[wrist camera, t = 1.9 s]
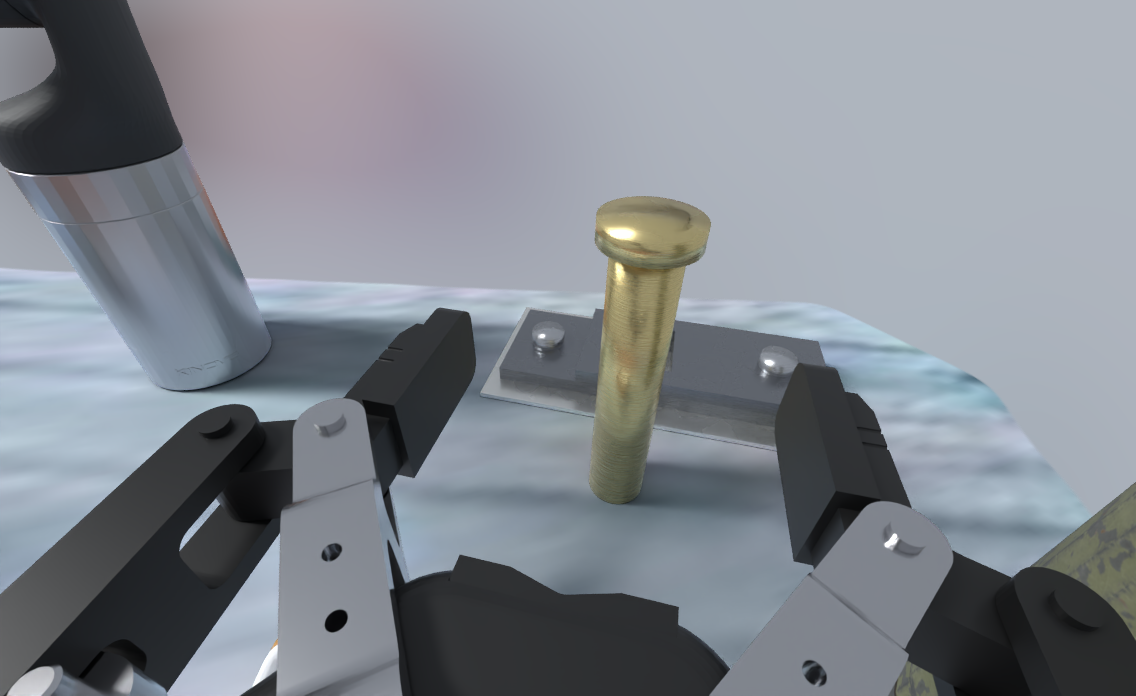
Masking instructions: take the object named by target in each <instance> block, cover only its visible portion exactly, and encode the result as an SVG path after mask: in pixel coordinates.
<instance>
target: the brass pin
mask: <svg viewBox="0 0 1136 696" xmlns="http://www.w3.org/2000/svg"><path fill="white" fill-rule="evenodd" d="M710 227H711V222H710V219H709V217H708V216H707V215H706V214H705V213H704V212H702V211H701V210H699V209H698V208H696V207H694V206H691V205H689V204H686V203H683V202H680V201H676V200H672V199H667V198H660V197H648V196H647V197H646V196H636V197H625V198H620V199H616V200H612V201H610V202H607V203H605V204H603V205H602V206H601V207H600V208H599V209H598V211H597V214H596V229H595V244H596V246H597V248H598V249H599V250H600V251H601V252H602V253H604V254H605V255H606V256H608V257H609V259H608V270H607V281H606V292H605V304H604V315H603V327H602V338H601V349H600V361H599V372H598V384H597V395H596V406H595V418H594V429H593V441H592V452H591V463H590V475H589V484H590V487H591V489H592V491H593V492H594V494H595V495H596V496H597V497H599V498H600V499H601V500H603V501H605V502H608V503H612V504H624V503H627V502H630V501H632V500H633V499H635V498H636V497H637V496H638V494H639V492H640V490H641V486H642V481H643V476H644V471H645V466H646V461H647V456H648V451H649V446H650V441H651V436H652V431H653V426H654V421H655V417H656V412H657V407H658V402H659V397H660V392H661V387H662V382H663V377H664V372H665V367H666V362H667V357H668V352H669V347H670V342H671V337H672V332H673V327H674V322H675V317H676V312H677V307H678V302H679V297H680V292H681V287H682V282H683V277H684V272H685V267H686V266H687V265H690V264H692V263H695V262H696V261H698V260H699V259H700V258H701V257H702V256H703V255H704V253H705V249H706V244H707V240H708V236H709V232H710Z"/></svg>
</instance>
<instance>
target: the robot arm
mask: <svg viewBox="0 0 1136 696" xmlns="http://www.w3.org/2000/svg"><path fill="white" fill-rule="evenodd" d="M0 28H45V30H46V32H47V35H48V38H49V40H50V43H51V45H52V48H53V51H54V54H55V59H56V66H55V69H54V70H53V72H52V73H51V74H50V75H49V76H48V77H47V79H46V80H45V81H44V82H42V83H41V84H39V85H38V86H37V87H35V88H33V89H31V90H29V91H27V92H25V93H22V94H20V95H17V96H15V97H12V98H9V99H7V100H4V101H2V102H0V162H1V164H2V165H3V166H4V167H5V170H6V171H7V172H8V174H9V175H10V177H11V178H12V180H13V181H14V182H15V184H16V185H17V187H18V188H19V190H20V191H21V193H22V194H23V195H24V197H25V199H26V200H27V201H28V203H29V204H30V206H31V207H32V209H33V210H34V212H35V213H36V214H37V215H38V217H39V218H40V220H41V221H42V223H43V224H44V225H45V227H46V228H47V230H48V231H49V233H50V234H51V236H52V237H53V238H54V240H55V241H56V243H57V244H58V246H59V247H60V248H61V250H62V252H63V253H64V254H65V256H66V257H67V259H68V260H69V262H70V263H71V265H72V266H73V267H74V269H75V270H76V272H77V273H78V275H79V276H80V278H81V279H82V281H83V282H84V283H85V285H86V286H87V288H88V289H89V291H90V292H91V294H92V295H93V296H94V298H95V299H96V301H97V302H98V304H99V305H100V307H101V308H102V310H103V311H104V312H105V314H106V315H107V317H108V318H109V320H110V321H111V323H112V324H113V325H114V327H115V328H116V330H117V331H118V333H119V334H120V336H121V337H122V338H123V340H124V342H125V343H126V345H127V346H128V347H129V349H130V350H131V352H132V353H133V355H134V356H135V358H136V359H137V360H138V362H139V363H140V365H141V366H142V368H143V369H144V371H145V372H146V373H147V375H148V376H149V378H150V379H151V381H152V382H153V383H155V384H156V385H158V386H160V387H163V388H166V389H172V390H193V389H199V388H205V387H209V386H213V385H216V384H220V383H222V382H225V381H228V380H230V379H233V378H235V377H237V376H239V375H241V374H243V373H245V372H246V371H248V370H249V369H251V368H252V367H254V366H255V365H256V364H257V363H259V362H260V361H261V360H262V359H263V358H264V357H265V355H266V354H267V353H268V351H269V349H270V347H271V340H272V339H271V337H270V334H269V332H268V330H267V327H266V325H265V323H264V321H263V318H262V316H261V314H260V312H259V309H258V307H257V305H256V302H255V300H254V298H253V295H252V293H251V291H250V289H249V286H248V284H247V282H246V280H245V277H244V276H243V273H242V271H241V269H240V266H239V264H238V262H237V260H236V257H235V255H234V253H233V251H232V249H231V246H230V244H229V242H228V239H227V237H226V235H225V233H224V231H223V228H222V226H221V224H220V222H219V219H218V217H217V215H216V213H215V210H214V208H213V206H212V204H211V202H210V199H209V197H208V195H207V193H206V190H205V188H204V186H203V184H202V182H201V180H200V178H199V175H198V173H197V171H196V169H195V167H194V164H193V162H192V160H191V158H190V155H189V153H188V151H187V149H186V146H185V144H184V142H183V140H182V137H181V135H180V133H179V131H178V128H177V126H176V124H175V122H174V119H173V117H172V114H171V111H170V108H169V106H168V103H167V100H166V97H165V94H164V91H163V88H162V86H161V83H160V81H159V78H158V76H157V74H156V71H155V69H154V67H153V64H152V62H151V60H150V57H149V55H148V53H147V50H146V48H145V46H144V44H143V41H142V38H141V36H140V33H139V31H138V28H137V26H136V23H135V21H134V18H133V16H132V13H131V11H130V8H129V6H128V3H127V0H0ZM475 366H476V357H475V348H474V340H473V332H472V324H471V318H470V315H469V313H468V312H465V311H459V310H452V309H445V308H438V309H436V310H435V311H434V313H433V314H432V315H431V316H430V317H429V319H428V320H427V321H426V322H425V323H424V325H423V324H415V325H414V326H412V327H410V328H409V329H407V330H405V331H403V332H402V333H400V334H399V335H398V336H397V337H396V338H395V340H394V341H393V342H392V343H391V344H390V345H389V346H388V350H387V349H386V350H385V351H384V352H383V353H382V354H381V356H380V357H379V360H376V361H375V362H374V364H373V365H372V366H371V367H370V368H369V369H368V370H367V372H366V373H365V374H364V375H363V376H362V377H361V378H360V380H359V381H358V382H357V383H356V384H355V385H354V386H353V388H352V389H351V390H350V391H349V392H348V393H347V394H346V396H345V397H344V398H338V399H331V400H327V401H323V402H321V403H318V404H316V405H314V406H312V407H310V408H309V409H308V410H306V411H305V412H304V413H303V414H301V416H300V417H299V418H298V419H297V420H287V421H273V422H260V421H259V419H258V417H257V416H256V414H255V412H254V411H253V409H251V408H250V407H248V406H245V405H240V404H230V405H223V406H219V407H216V408H213V409H210V410H208V411H205V412H203V413H201V414H200V415H198V416H196V417H195V418H193V419H192V420H190V421H189V422H188V423H187V424H186V425H185V426H184V427H182V428H181V429H180V430H179V431H178V432H177V433H176V434H175V435H174V436H173V437H172V438H170V439H169V440H168V441H167V442H166V443H165V444H164V445H163V446H162V447H161V448H160V449H158V450H157V451H156V452H155V453H154V454H153V455H152V456H151V457H150V458H149V459H148V460H146V461H145V462H144V463H143V464H142V465H141V466H140V467H139V468H138V469H137V470H136V471H134V472H133V473H132V474H131V475H130V476H129V477H128V478H127V479H126V480H125V481H124V482H122V483H121V484H120V485H119V486H118V487H117V488H116V489H115V490H114V491H113V492H112V493H110V494H109V495H108V496H107V497H106V498H105V499H104V500H103V501H102V502H101V503H100V504H98V505H97V506H96V507H95V508H94V509H93V510H92V511H91V512H90V513H89V514H88V515H86V516H85V517H84V518H83V519H82V520H81V521H80V522H79V523H78V524H77V525H76V526H74V527H73V528H72V529H71V530H70V531H69V532H68V533H67V534H66V535H65V536H64V537H62V538H61V539H60V540H59V541H58V542H57V543H56V544H55V545H54V546H53V547H52V548H50V549H49V550H48V551H47V552H46V553H45V554H44V555H43V556H42V557H41V558H40V559H38V560H37V561H36V562H35V563H34V564H33V565H32V566H31V567H30V568H29V569H28V570H26V571H25V572H24V573H23V574H22V575H21V576H20V577H19V578H18V579H17V580H16V581H14V582H13V583H12V584H11V585H10V586H9V587H8V588H7V589H6V590H5V591H4V592H2V593H1V594H0V696H168V695H167V692H168V691H169V689H170V688H171V686H172V685H173V684H174V682H175V681H176V679H177V678H178V676H179V675H180V674H181V672H182V671H183V669H184V668H185V667H186V665H187V664H188V662H189V661H190V659H191V658H192V657H193V655H194V654H195V652H196V651H197V650H198V648H199V647H200V645H201V644H202V642H203V641H204V640H205V638H206V637H207V635H208V634H209V632H210V631H211V630H212V628H213V627H214V625H215V624H216V623H217V621H218V620H219V618H220V617H221V615H222V614H223V613H224V611H225V610H226V608H227V607H228V606H229V604H230V603H231V601H232V600H233V598H234V597H235V596H236V594H237V593H238V591H239V590H240V589H241V587H242V586H243V584H244V583H245V581H246V580H247V579H248V577H249V576H250V574H251V573H252V572H253V570H254V569H255V567H256V566H257V564H258V563H259V562H260V560H261V559H262V557H263V556H264V555H265V553H266V552H267V550H268V549H269V547H270V546H271V545H272V543H273V542H274V540H275V539H276V537H277V536H278V535H279V533H280V567H279V609H278V652H277V670H276V671H275V672H274V673H272V674H271V675H269V676H268V677H266V678H265V679H263V680H262V681H261V682H259V683H258V684H256V685H255V686H253V687H252V688H251V689H249V690H248V691H246V692H245V693H243V694H242V695H240V696H888V695H889V693H890V691H891V690H892V688H893V686H894V684H895V682H896V681H897V679H898V677H899V675H900V673H901V672H902V670H903V668H904V666H905V664H906V662H907V661H909V662H911V663H912V664H914V665H916V666H918V667H920V668H922V669H923V670H925V671H927V672H929V673H931V674H932V675H933V679H934V683H935V686H936V690H937V694H938V696H1136V640H1135V638H1134V637H1133V635H1132V633H1131V632H1130V630H1129V628H1128V627H1127V625H1126V624H1125V622H1124V621H1123V619H1122V618H1121V616H1120V615H1119V614H1118V613H1117V612H1116V611H1115V609H1114V608H1113V607H1112V606H1111V605H1110V604H1109V603H1108V602H1107V601H1106V600H1104V599H1103V598H1102V597H1101V596H1100V595H1098V594H1097V593H1096V592H1095V591H1093V590H1092V589H1090V588H1089V587H1088V586H1086V585H1084V584H1083V583H1081V582H1080V581H1078V580H1076V579H1074V578H1072V577H1070V576H1068V575H1066V574H1064V573H1061V572H1059V571H1056V570H1052V569H1049V568H1044V567H1028V568H1025V569H1022V570H1021V571H1020V572H1018V573H1017V574H1016V575H1015V576H1014V577H1012V578H1011V577H1009V576H1007V575H1005V574H1002V573H1000V572H998V571H996V570H993V569H991V568H989V567H987V566H984V565H982V564H980V563H978V562H975V561H973V560H971V559H969V558H966V557H964V556H962V555H960V554H958V553H956V552H955V551H953V550H952V549H951V546H950V544H949V542H948V540H947V539H946V537H945V536H944V534H943V533H942V532H941V530H940V529H939V528H938V527H937V526H936V525H935V524H934V523H932V522H931V521H930V520H929V519H928V518H926V517H925V516H923V515H922V514H920V513H919V512H917V511H915V510H913V509H912V508H911V505H910V502H909V500H908V497H907V495H906V492H905V490H904V487H903V485H902V482H901V480H900V477H899V475H898V472H897V469H896V467H895V464H894V462H893V459H892V457H891V454H890V452H889V450H887V444H886V441H885V439H884V436H883V434H881V429H880V426H879V424H878V421H877V419H876V416H875V413H874V411H873V410H872V409H871V408H870V407H869V406H868V405H867V404H866V403H865V402H864V401H863V399H862V398H861V397H860V396H859V395H858V394H855V393H849V392H845V391H844V388H843V385H842V383H841V380H840V377H839V374H838V371H837V370H836V369H835V368H832V367H826V366H819V365H812V364H806V363H798V364H797V366H796V367H795V369H794V371H793V374H792V376H791V379H790V381H789V384H788V386H787V389H786V391H785V393H784V396H783V398H782V401H781V403H780V406H779V408H778V411H777V414H776V419H775V428H774V434H775V442H776V448H777V455H778V461H779V468H780V474H781V481H782V487H783V494H784V501H785V507H786V514H787V520H788V527H789V533H790V540H791V546H792V553H793V559H794V561H795V562H800V563H804V564H809V565H813V567H814V571H813V572H812V573H809V574H808V575H807V576H806V577H805V578H804V580H803V581H802V582H801V583H800V584H799V586H798V587H797V588H796V589H795V591H794V592H793V593H792V594H791V596H790V597H789V598H788V599H787V600H786V602H785V603H784V604H783V605H782V607H781V608H780V609H779V610H778V611H777V613H776V614H775V615H774V616H773V618H772V619H771V620H770V621H769V623H768V624H767V625H766V626H765V627H764V629H763V630H762V631H761V632H760V634H759V635H758V636H757V637H756V638H755V640H754V641H753V642H752V643H751V645H750V646H749V647H748V648H747V650H746V651H745V652H744V653H743V654H742V656H741V657H740V658H739V659H738V661H737V662H736V663H735V664H734V665H733V667H732V668H731V669H729V667H728V666H727V665H726V663H725V662H724V661H723V660H722V659H721V658H720V657H719V656H718V655H717V654H716V653H715V652H714V650H712V649H711V648H710V647H709V646H708V645H707V644H706V643H704V642H703V641H702V640H701V639H700V638H698V637H697V636H695V635H694V634H692V633H691V632H690V631H688V630H687V629H685V628H683V627H681V626H679V625H678V610H679V607H677V606H672V605H668V604H664V603H660V602H656V601H652V600H647V599H643V598H639V597H635V596H631V595H626V594H622V593H616V594H579V595H564V594H560V593H557V592H555V591H553V590H552V589H550V588H548V587H546V586H544V585H543V584H541V583H539V582H537V581H535V580H534V579H532V578H530V577H528V576H526V575H524V574H523V573H521V572H519V571H517V570H515V569H514V568H512V567H509V566H505V565H501V564H497V563H493V562H489V561H484V560H480V559H476V558H472V557H468V556H464V555H459V558H458V560H457V562H456V565H455V567H454V569H453V571H443V572H437V573H432V574H429V575H425V576H422V577H419V578H416V579H414V580H411V581H410V577H409V573H408V570H407V566H406V562H405V558H404V553H403V548H402V543H401V537H400V532H399V527H398V522H397V516H396V511H395V506H394V500H393V495H392V491H391V488H390V485H391V483H392V482H393V480H394V479H395V477H396V475H397V474H398V475H403V476H407V477H412V478H415V476H416V474H417V473H418V471H419V469H420V468H421V466H422V464H423V462H424V461H425V459H426V457H427V456H428V454H429V452H430V451H431V449H432V447H433V445H434V444H435V442H436V440H437V439H438V437H439V435H440V434H441V432H442V430H443V428H444V427H445V425H446V423H447V422H448V420H449V418H450V417H451V415H452V413H453V412H454V410H455V408H456V406H457V405H458V403H459V401H460V400H461V398H462V396H463V395H464V393H465V391H466V389H467V388H468V386H469V384H470V383H471V381H472V378H473V376H474V372H475ZM215 499H217V500H218V502H219V503H220V505H219V506H218V507H217V508H216V510H215V511H214V512H213V513H212V514H211V515H210V517H209V518H208V519H207V520H206V521H205V522H204V524H203V525H202V526H201V527H200V528H199V529H198V531H197V532H196V533H195V534H194V535H193V536H192V538H191V539H190V540H189V541H188V542H187V543H186V545H185V546H184V547H183V548H182V549H181V550H180V552H179V548H180V544H181V541H182V539H183V537H184V535H185V533H186V532H187V531H188V529H189V528H190V527H191V526H192V525H193V524H194V523H195V521H196V520H197V519H198V518H199V517H200V516H201V515H202V513H203V512H204V511H205V510H206V509H207V508H208V507H209V505H210V504H211V503H212V502H213V501H214V500H215Z"/></svg>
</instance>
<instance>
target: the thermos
mask: <svg viewBox="0 0 1136 696" xmlns="http://www.w3.org/2000/svg"><path fill="white" fill-rule="evenodd" d="M1030 567H1044V568H1049V569H1052V570H1056V571H1059V572H1061V573H1064V574H1066V575H1068V576H1070V577H1072V578H1074V579H1076V580H1078V581H1080V582H1081V583H1083V584H1084V585H1086V586H1088V587H1089V588H1090V589H1092V590H1093V591H1095V592H1096V593H1097V594H1098V595H1100V596H1101V597H1102V598H1103V599H1104V600H1106V601H1107V602H1108V603H1109V604H1110V605H1111V606H1112V607H1113V608H1114V609H1115V611H1116V612H1117V613H1118V614H1119V615H1120V616H1121V618H1122V619H1123V621H1124V622H1125V624H1126V625H1127V627H1128V628H1129V630H1130V632H1131V633H1132V635H1133V637H1134V638H1135V640H1136V482H1135V483H1134V484H1133V485H1131V486H1130V487H1129V488H1128V489H1126V490H1125V491H1124V492H1123V493H1122V494H1120V495H1119V496H1118V497H1116V498H1115V499H1114V500H1113V501H1112V502H1110V503H1109V504H1108V505H1107V506H1105V507H1104V508H1103V509H1102V510H1101V511H1099V512H1098V513H1097V514H1095V515H1094V516H1093V517H1092V518H1090V519H1089V520H1088V521H1087V522H1085V523H1084V524H1083V525H1082V526H1080V527H1079V528H1078V529H1077V530H1075V531H1074V532H1073V533H1072V534H1070V535H1069V536H1068V537H1067V538H1065V539H1064V540H1063V541H1062V542H1060V543H1059V544H1058V545H1057V546H1055V547H1054V548H1053V549H1052V550H1050V551H1049V552H1048V553H1047V554H1045V555H1044V556H1043V557H1042V558H1040V559H1039V560H1038V561H1037V562H1035V563H1034V564H1033V565H1032V566H1030ZM888 696H938V694H937V690H936V686H935V683H934V679H933V675H932V674H931V673H929V672H927V671H925V670H923V669H922V668H920V667H918V666H916V665H914V664H912V663H911V662H909V661H907V662H906V664H905V666H904V668H903V670H902V672H901V673H900V675H899V677H898V679H897V681H896V682H895V684H894V686H893V688H892V690H891V691H890V693H889V695H888Z"/></svg>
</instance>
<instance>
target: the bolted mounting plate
mask: <svg viewBox="0 0 1136 696" xmlns="http://www.w3.org/2000/svg"><path fill="white" fill-rule="evenodd" d="M603 315H604V310H602V309H596V310H595V313H594V316H593V317H588V316H582V315H575V314H568V313H562V312H555V311H548V310H542V309H535V308H529V307H526V309H525V311H524V313H523V315H522V317H521V318H520V320H519V322H518V324H517V326H516V328H515V329H514V331H513V333H512V335H511V337H510V339H509V341H508V342H507V344H506V346H505V348H504V350H503V352H502V353H501V355H500V357H499V359H498V361H497V363H496V364H495V366H494V368H493V370H492V372H491V374H490V375H489V377H488V379H487V381H486V383H485V385H484V387H483V388H482V390H481V392H480V395H481V396H482V397H488V398H493V399H498V400H504V401H509V402H515V403H520V404H526V405H531V406H536V407H542V408H547V409H553V410H558V411H563V412H569V413H574V414H580V415H585V416H590V417H595V406H596V395H597V384H598V372H599V361H600V349H601V338H602V327H603ZM798 363H806V364H812V365H819V366H826V365H825V362H824V359H823V355H822V352H821V349H820V346H819V342H818V341H812V340H805V339H798V338H791V337H785V336H778V335H771V334H764V333H758V332H751V331H744V330H737V329H731V328H724V327H717V326H710V325H704V324H697V323H690V322H683V321H676V320H675V322H674V327H673V332H672V337H671V342H670V347H669V352H668V357H667V362H666V367H665V372H664V377H663V382H662V387H661V392H660V397H659V402H658V407H657V412H656V417H655V421H654V426H653V428H655V429H661V430H666V431H672V432H677V433H682V434H688V435H693V436H699V437H704V438H710V439H715V440H720V441H726V442H731V443H737V444H742V445H747V446H753V447H758V448H764V449H769V450H774V451H777V448H776V442H775V434H774V428H775V419H776V414H777V411H778V408H779V406H780V403H781V401H782V398H783V396H784V393H785V391H786V389H787V386H788V384H789V381H790V379H791V376H792V374H793V371H794V369H795V367H796V366H797V364H798Z"/></svg>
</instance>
